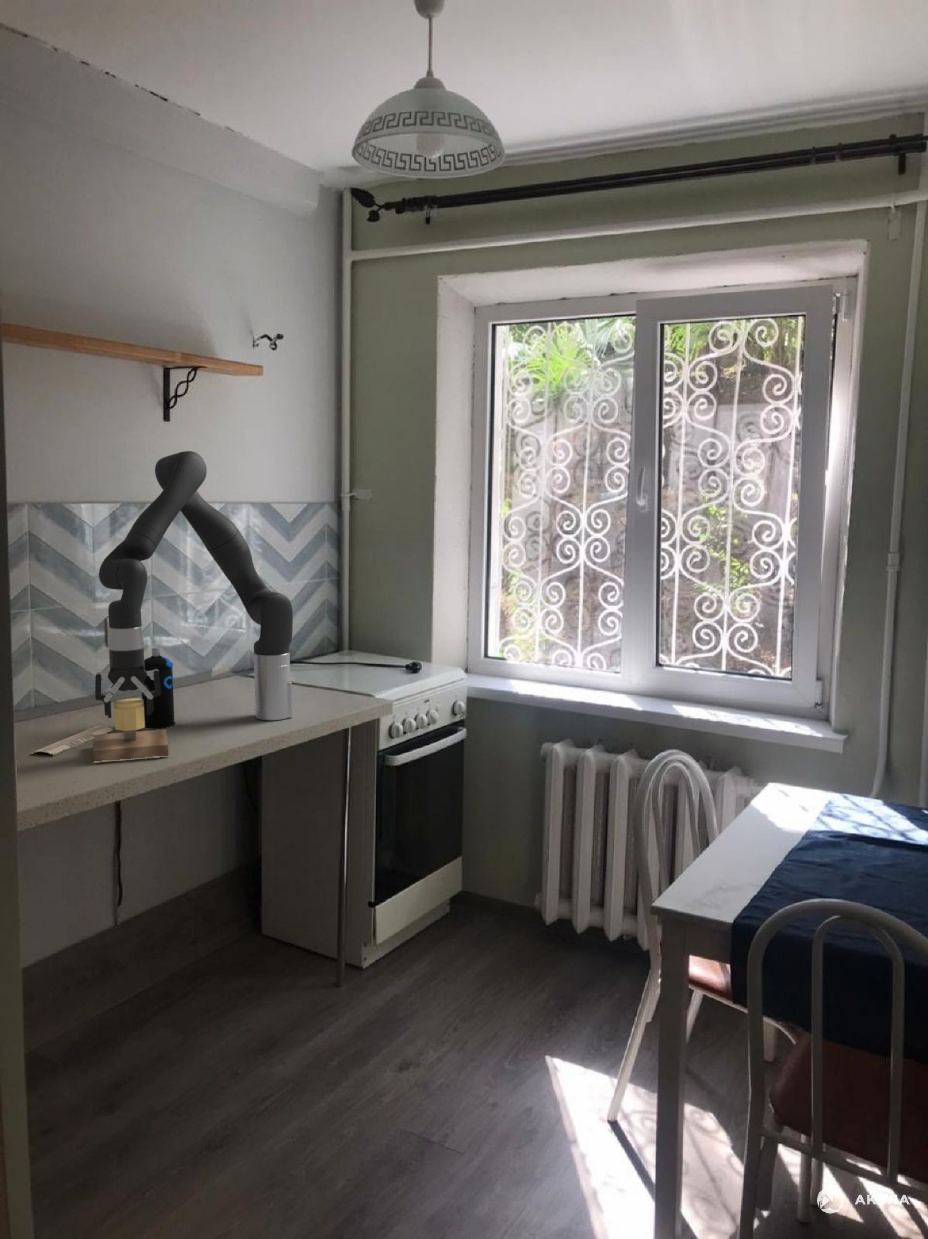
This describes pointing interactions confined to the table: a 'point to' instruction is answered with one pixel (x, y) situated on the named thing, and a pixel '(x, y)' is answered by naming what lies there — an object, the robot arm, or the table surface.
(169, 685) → the aerosol can
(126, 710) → the cap
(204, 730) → the table surface
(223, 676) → the table surface
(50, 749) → the newspaper
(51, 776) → the table surface
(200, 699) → the table surface
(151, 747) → the bolt base
